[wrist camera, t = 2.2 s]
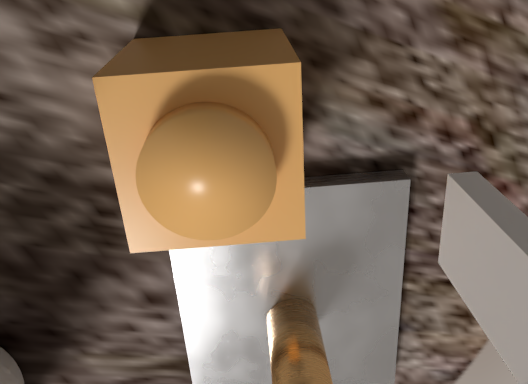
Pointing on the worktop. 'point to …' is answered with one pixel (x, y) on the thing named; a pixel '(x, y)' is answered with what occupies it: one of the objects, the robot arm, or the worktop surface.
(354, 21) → the worktop surface
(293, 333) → the plate with brass peg
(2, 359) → the mug
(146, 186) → the cube with dome top
